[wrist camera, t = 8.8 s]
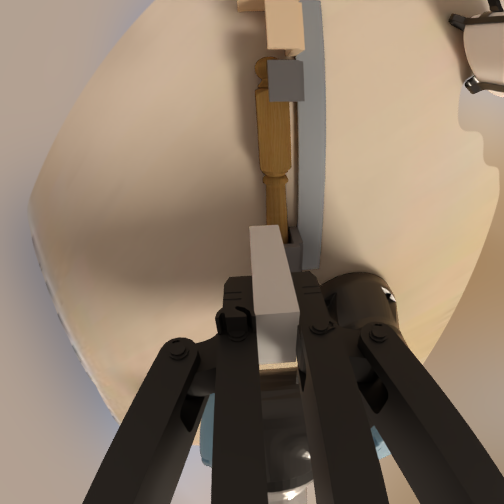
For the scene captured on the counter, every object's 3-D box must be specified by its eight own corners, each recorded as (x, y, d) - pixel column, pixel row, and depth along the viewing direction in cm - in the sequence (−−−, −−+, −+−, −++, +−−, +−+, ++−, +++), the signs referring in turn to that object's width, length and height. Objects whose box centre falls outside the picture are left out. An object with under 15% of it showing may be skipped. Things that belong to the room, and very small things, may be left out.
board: (318, 266, 38) (328, 293, 33) (253, 270, 38) (255, 299, 33) (319, 2, 21) (334, -14, 16) (237, 0, 21) (236, -18, 16)
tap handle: (268, 307, 38) (253, 55, 22) (266, 292, 41) (252, 59, 25) (291, 305, 38) (286, 54, 22) (288, 291, 41) (281, 58, 25)
